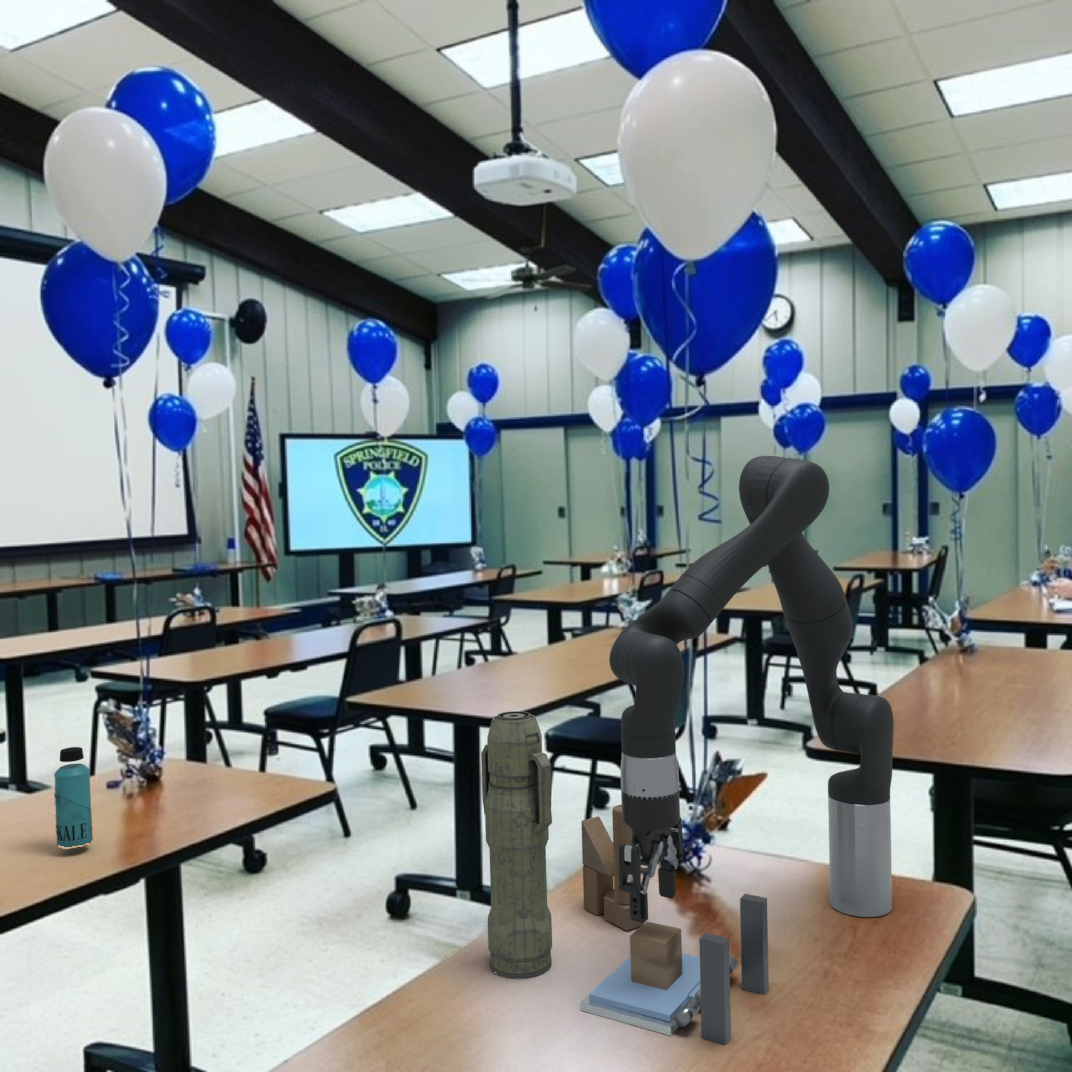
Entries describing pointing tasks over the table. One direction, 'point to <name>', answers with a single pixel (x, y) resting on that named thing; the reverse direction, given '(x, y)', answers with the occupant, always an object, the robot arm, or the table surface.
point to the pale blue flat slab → (650, 991)
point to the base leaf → (713, 978)
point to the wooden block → (605, 870)
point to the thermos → (517, 845)
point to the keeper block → (656, 955)
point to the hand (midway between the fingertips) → (653, 908)
